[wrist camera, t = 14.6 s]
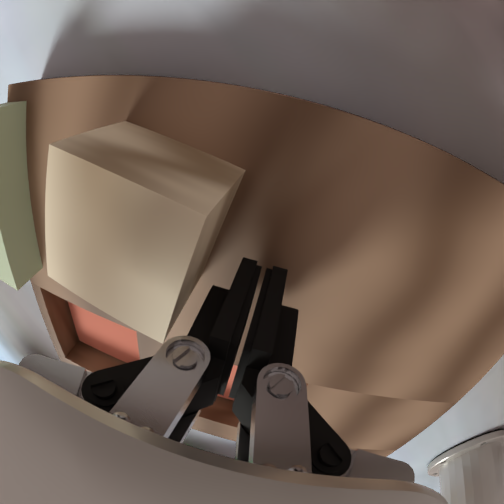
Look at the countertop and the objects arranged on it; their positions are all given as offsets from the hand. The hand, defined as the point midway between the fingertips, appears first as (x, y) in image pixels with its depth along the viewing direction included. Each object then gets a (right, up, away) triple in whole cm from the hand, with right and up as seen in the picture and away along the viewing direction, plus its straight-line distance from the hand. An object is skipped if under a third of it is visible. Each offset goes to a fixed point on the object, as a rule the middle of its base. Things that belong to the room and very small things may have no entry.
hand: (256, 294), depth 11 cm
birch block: (-4, +4, 0) cm, 5 cm away
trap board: (0, -2, +6) cm, 6 cm away
